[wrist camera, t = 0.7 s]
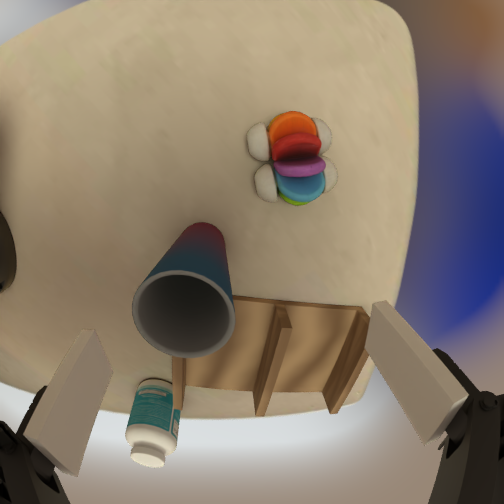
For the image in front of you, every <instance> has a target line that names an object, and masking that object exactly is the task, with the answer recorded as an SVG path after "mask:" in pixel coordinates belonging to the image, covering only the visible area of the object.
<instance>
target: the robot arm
mask: <svg viewBox="0 0 504 504" xmlns="http://www.w3.org/2000/svg"><path fill="white" fill-rule="evenodd" d="M15 271H16V256H15V249H14V244H13V240H12V236H11V233H10V230H9V228H8V225H7V223H6V221H5V219H4V217H3V215H2V214H1V212H0V293H2V292H3V291H4V290H5V289H7V288H8V287H9V286H10V285H11V283H12V282H13V279H14V276H15ZM365 349H366V351H367V352H368V354H369V355H370V357H371V359H372V360H373V362H374V363H375V365H376V366H377V368H378V370H379V371H380V373H381V374H382V376H383V378H384V379H385V381H386V382H387V384H388V385H389V387H390V389H391V391H392V392H393V394H394V395H395V397H396V398H397V400H398V402H399V404H400V405H401V407H402V409H403V410H404V412H405V414H406V415H407V417H408V419H409V421H410V422H411V424H412V425H413V427H414V429H415V431H416V433H417V434H418V436H419V438H420V440H421V441H422V443H423V445H424V446H425V445H427V444H429V443H431V442H433V441H435V440H437V439H439V438H440V436H441V435H442V434H443V432H444V431H446V432H447V434H448V435H447V437H446V438H445V439H444V441H443V442H442V443H441V444H440V446H439V448H438V450H440V449H441V448H442V447H443V446H444V449H443V454H442V458H441V462H440V466H439V470H438V474H437V477H436V481H435V484H434V487H433V490H432V493H431V497H430V499H429V502H428V504H504V394H502V395H498V396H496V395H494V394H493V393H491V392H488V391H482V392H480V391H479V390H478V389H477V388H476V387H475V386H474V384H473V383H472V382H471V381H470V380H469V379H468V377H467V376H466V375H465V374H464V373H463V372H462V370H461V369H459V367H458V366H457V365H456V363H454V362H453V360H452V359H451V358H450V357H449V356H448V354H446V353H445V352H443V351H441V350H440V349H438V348H436V349H434V350H431V349H430V348H429V346H428V345H427V344H426V343H425V342H424V341H423V340H422V338H421V337H420V336H419V335H418V334H417V333H416V332H415V331H414V330H413V329H412V327H411V326H410V325H409V324H408V323H407V322H406V321H405V320H404V319H403V318H402V317H401V316H400V315H399V313H397V311H396V310H395V309H394V308H393V307H392V306H391V305H390V304H389V303H388V302H387V301H381V302H376V303H373V305H372V311H371V317H370V322H369V328H368V333H367V338H366V343H365ZM112 374H113V369H112V367H111V365H110V363H109V361H108V359H107V357H106V355H105V352H104V350H103V348H102V346H101V343H100V341H99V339H98V336H97V334H96V331H95V329H82V331H81V332H80V334H79V335H78V337H77V338H76V340H75V341H74V343H73V344H72V346H71V348H70V349H69V351H68V352H67V354H66V356H65V357H64V359H63V361H62V362H61V364H60V366H59V367H58V369H57V371H56V372H55V374H54V376H53V378H52V379H51V381H50V383H49V385H48V386H44V387H43V388H42V389H40V390H39V391H38V392H37V394H36V396H35V397H34V399H33V403H31V405H30V407H29V410H28V411H27V413H26V414H25V416H24V418H23V420H22V422H21V424H20V426H19V428H18V431H17V433H16V434H15V433H14V432H13V431H12V430H11V428H10V427H9V426H8V425H7V424H6V423H5V422H4V421H0V504H70V502H69V500H68V498H67V496H66V494H65V492H64V489H63V487H62V485H61V483H60V480H59V478H58V476H57V474H56V473H55V471H54V468H55V466H56V467H57V468H58V469H59V470H61V471H62V472H63V473H66V474H69V475H72V476H75V477H78V473H79V470H80V466H81V463H82V460H83V456H84V453H85V449H86V446H87V443H88V440H89V437H90V434H91V431H92V428H93V425H94V422H95V419H96V416H97V414H98V411H99V408H100V405H101V402H102V400H103V397H104V394H105V392H106V389H107V387H108V384H109V381H110V379H111V376H112Z"/></svg>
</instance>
